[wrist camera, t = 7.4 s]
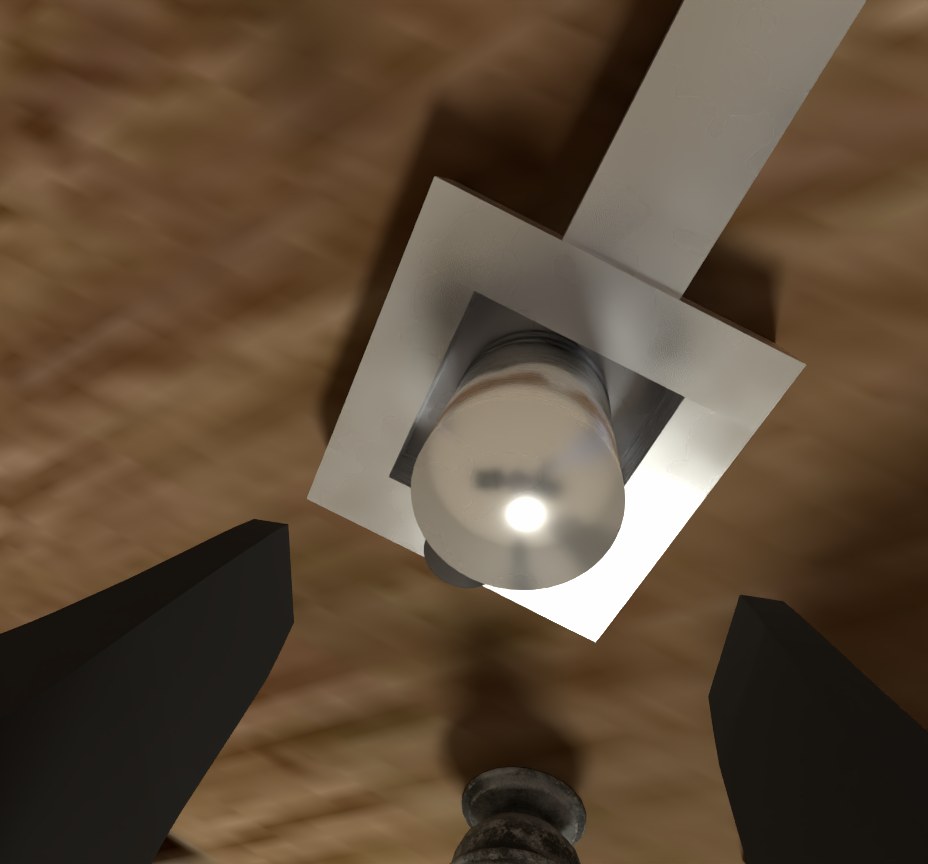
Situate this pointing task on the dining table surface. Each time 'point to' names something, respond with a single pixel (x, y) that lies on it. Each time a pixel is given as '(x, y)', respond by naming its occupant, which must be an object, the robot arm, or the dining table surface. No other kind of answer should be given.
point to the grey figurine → (520, 819)
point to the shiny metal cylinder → (522, 467)
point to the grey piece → (601, 298)
